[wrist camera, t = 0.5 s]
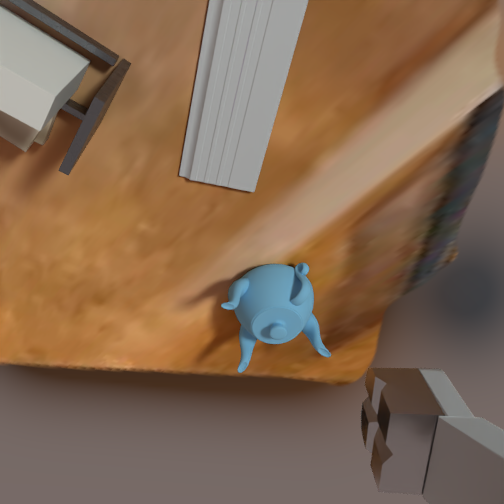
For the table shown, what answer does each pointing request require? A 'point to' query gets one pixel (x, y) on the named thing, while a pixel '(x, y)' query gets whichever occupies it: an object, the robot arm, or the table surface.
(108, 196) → the table surface
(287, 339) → the teapot
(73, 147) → the rack
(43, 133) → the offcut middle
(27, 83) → the off-white wooden block
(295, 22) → the baseboard molding
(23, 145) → the offcut top
